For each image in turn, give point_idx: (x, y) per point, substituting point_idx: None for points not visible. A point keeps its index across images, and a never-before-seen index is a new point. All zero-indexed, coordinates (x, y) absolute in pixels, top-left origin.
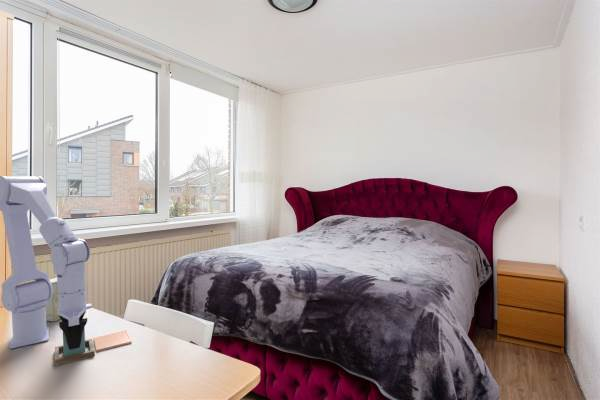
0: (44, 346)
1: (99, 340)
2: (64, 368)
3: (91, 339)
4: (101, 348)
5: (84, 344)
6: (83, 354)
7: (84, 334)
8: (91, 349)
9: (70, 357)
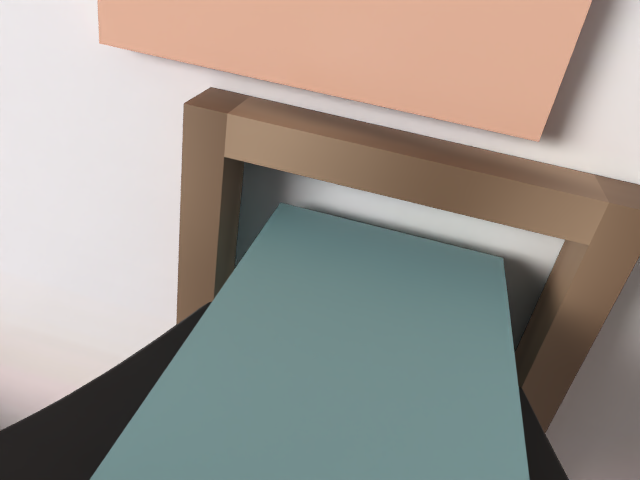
0: (28, 392)
1: (239, 5)
2: (630, 454)
3: (206, 116)
4: (556, 72)
5: (507, 336)
6: (597, 322)
7: (523, 462)
8: (558, 223)
9: (545, 423)
